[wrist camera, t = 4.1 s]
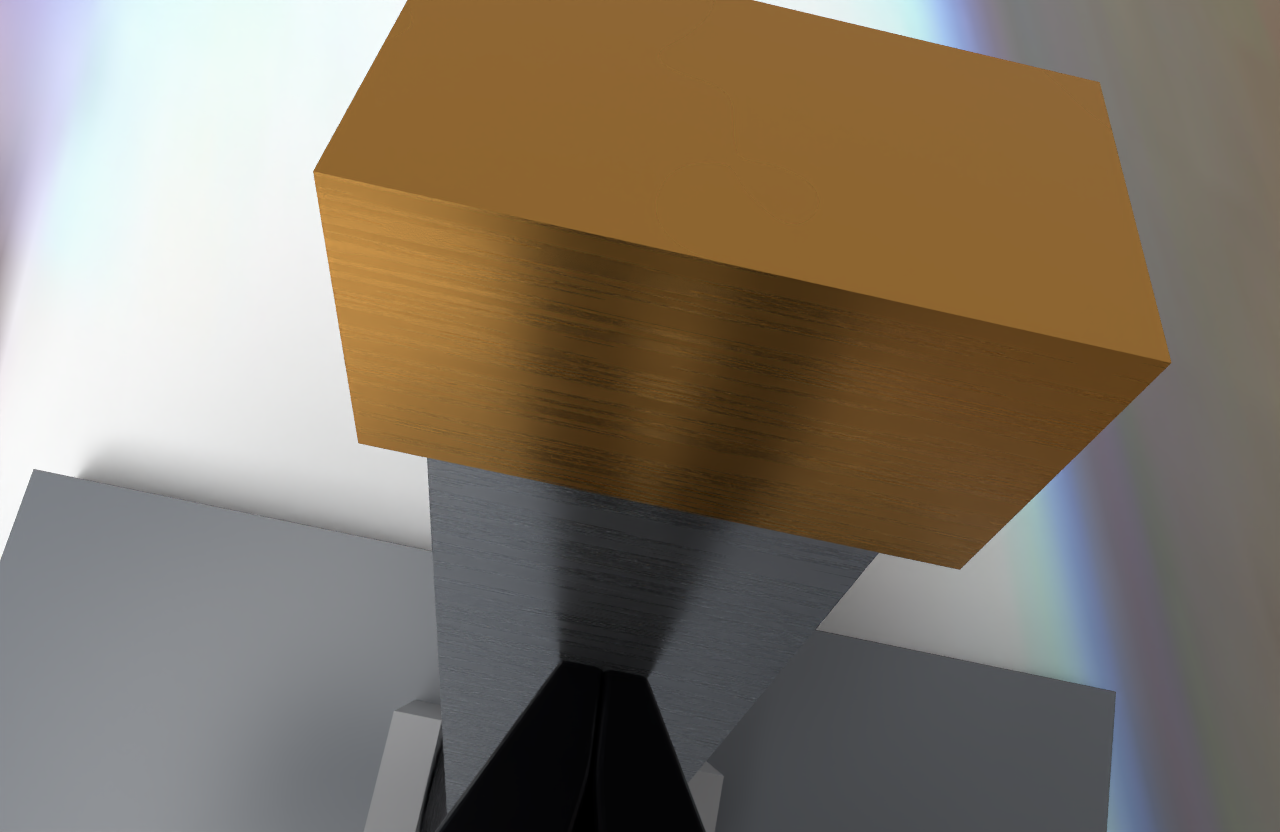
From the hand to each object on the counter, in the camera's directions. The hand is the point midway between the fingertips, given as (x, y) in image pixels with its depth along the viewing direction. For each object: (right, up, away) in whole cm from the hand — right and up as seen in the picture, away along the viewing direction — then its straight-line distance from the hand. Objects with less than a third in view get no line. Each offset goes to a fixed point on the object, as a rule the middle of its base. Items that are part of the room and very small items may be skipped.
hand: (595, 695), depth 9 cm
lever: (-1, -4, +7) cm, 9 cm away
